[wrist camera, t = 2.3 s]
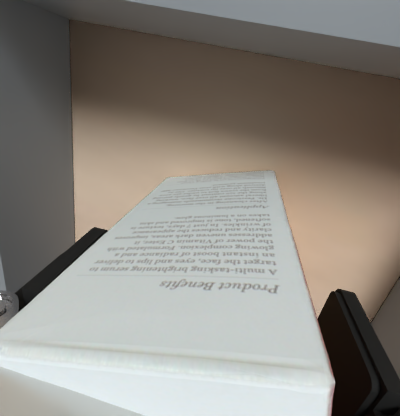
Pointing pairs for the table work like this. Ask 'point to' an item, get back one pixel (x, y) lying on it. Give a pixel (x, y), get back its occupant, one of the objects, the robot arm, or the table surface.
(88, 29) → the table surface
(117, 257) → the small box
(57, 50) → the rectangular frame
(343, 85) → the table surface
